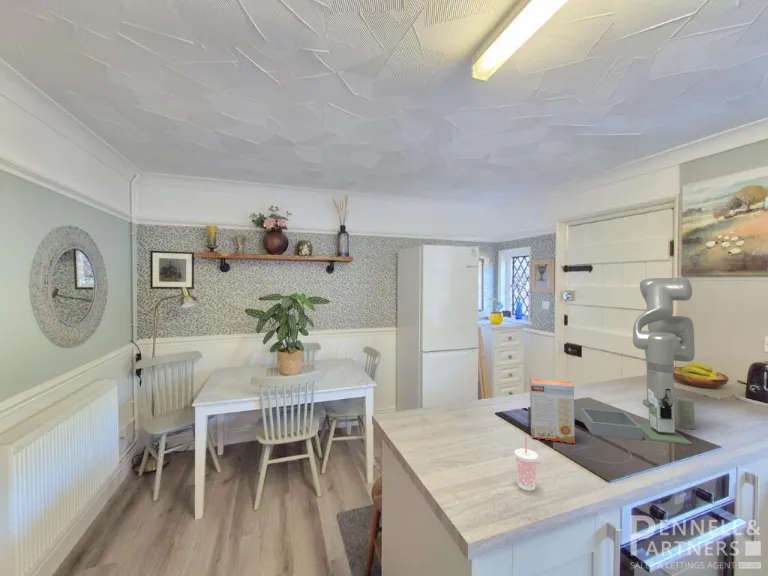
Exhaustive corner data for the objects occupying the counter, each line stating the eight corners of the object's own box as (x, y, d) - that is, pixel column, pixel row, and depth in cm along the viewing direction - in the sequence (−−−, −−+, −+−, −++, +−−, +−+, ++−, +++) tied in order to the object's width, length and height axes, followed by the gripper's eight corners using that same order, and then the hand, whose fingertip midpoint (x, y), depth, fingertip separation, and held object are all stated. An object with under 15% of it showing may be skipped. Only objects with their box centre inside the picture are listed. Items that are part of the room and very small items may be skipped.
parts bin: (580, 418, 137) (580, 407, 137) (624, 422, 132) (624, 411, 132) (591, 434, 122) (591, 422, 122) (642, 440, 117) (642, 427, 117)
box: (690, 425, 129) (690, 398, 129) (695, 429, 125) (694, 401, 125) (673, 423, 132) (673, 396, 132) (677, 427, 128) (677, 399, 128)
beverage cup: (513, 477, 94) (513, 429, 94) (536, 481, 93) (536, 432, 93) (515, 490, 88) (515, 439, 89) (540, 494, 87) (539, 442, 87)
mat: (634, 424, 130) (634, 423, 130) (671, 428, 127) (671, 427, 127) (651, 440, 117) (651, 438, 117) (692, 445, 113) (692, 443, 113)
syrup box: (675, 433, 119) (675, 393, 119) (657, 431, 120) (656, 393, 120) (665, 426, 124) (664, 389, 124) (647, 425, 125) (647, 388, 125)
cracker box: (571, 437, 120) (570, 381, 120) (575, 444, 114) (574, 385, 114) (530, 432, 124) (529, 378, 124) (531, 439, 119) (531, 382, 119)
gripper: (638, 361, 131) (639, 405, 131) (660, 372, 115) (660, 422, 115) (661, 363, 129) (661, 407, 129) (686, 374, 113) (686, 425, 113)
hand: (661, 414), depth 122 cm, fingers closed on syrup box, 6 cm apart
